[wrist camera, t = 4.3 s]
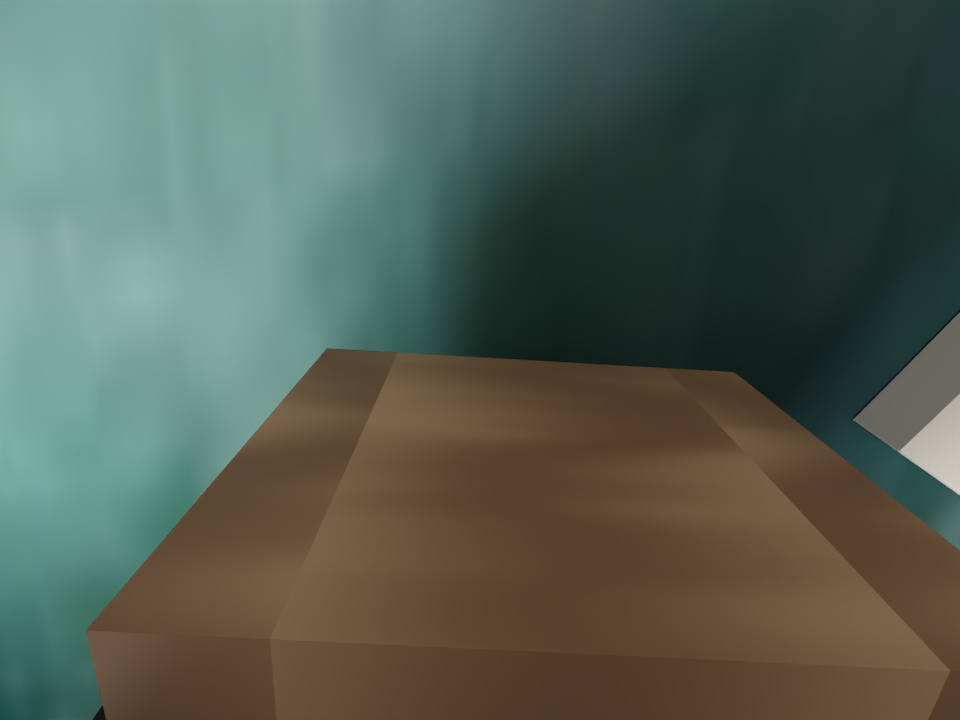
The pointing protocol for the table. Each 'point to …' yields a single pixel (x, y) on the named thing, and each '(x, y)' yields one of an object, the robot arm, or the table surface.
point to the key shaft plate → (924, 409)
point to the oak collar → (535, 560)
